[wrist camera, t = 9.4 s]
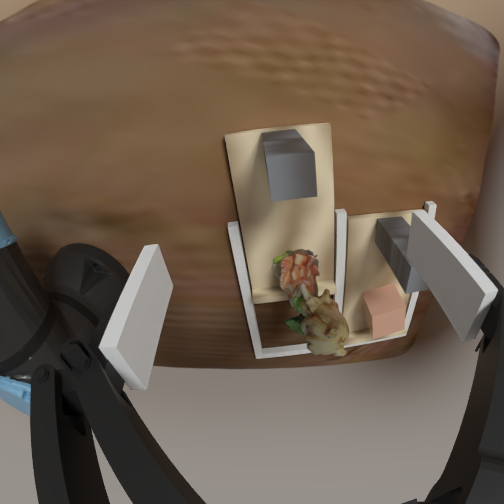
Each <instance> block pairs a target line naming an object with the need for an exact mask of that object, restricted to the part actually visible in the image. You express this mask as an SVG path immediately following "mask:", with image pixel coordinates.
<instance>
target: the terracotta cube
mask: <svg viewBox="0 0 504 504" xmlns="http://www.w3.org/2000/svg"><path fill="white" fill-rule="evenodd" d="M362 297H363V308H364V316H365V319H366V322H367V324H368V327H369V330H370V333H371V335H372V338H373V339H376V338H379V337H382V336H385V335H389V334H392V333H395V332H398V331H401V330H404V327H405V314H406V305H405V303H404V301H403V300H402V298H401V296H400V294H399V292H398V290H397V288H396V287H395V285H394V283H392V284H388V285H385V286H382V287H379V288H375V289H372V290H369V291H365V292H362Z"/></svg>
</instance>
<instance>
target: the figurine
mask: <svg viewBox="0 0 504 504" xmlns="http://www.w3.org/2000/svg"><path fill="white" fill-rule="evenodd" d="M317 256H318V255H315V256H314V254H313V252H312V251H310V250H309V249H308V250H304V249H297V250H288V251H285V253H284V254H282V255H281V256H277V257H275V258H274V259H273V265H272V267H271V269H272V271H273V273H274V275H275V276H276V277H277V278H278V279H279V280H280V287H281V289H283V290H284V291H285V292H286V293H287V296H288V299H289V302H290V305H291V306H292V307H293V308H294V309H295V310H296V311H298V312H300V313H301V314H300V315H299V316H297V317H295V318H291V319H288V320H286V322H285V323H286V324H287V325H288V326H289V328H290V329H291V330H294V329H295V330H296V331H297V332H299V333H301V334H303V335H304V334H305V336H306V341H307V349H308V350H309V351H311V353H312V354H314V355H318V354H322V355H328V354H332V353H333V354H334V355H335V356H344V355H346V353H347V351H345V350H344V345H345V343H346V341H347V340H348V337H349V327H348V324H347V321H346V319H345V317H344V316H343V315H342V314H341V312H340V311H339V308H338V303H337V302H335V301H334V300H332V299H331V298H330V291H329V290H328V289H325V290H324V292H323V294H322V295H321V296H320V297H318V285H317V281H316V276H319V275H320V273H319V271H318V267H319V266H318V264H319V261H318V260H317V259H316V257H317Z"/></svg>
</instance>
